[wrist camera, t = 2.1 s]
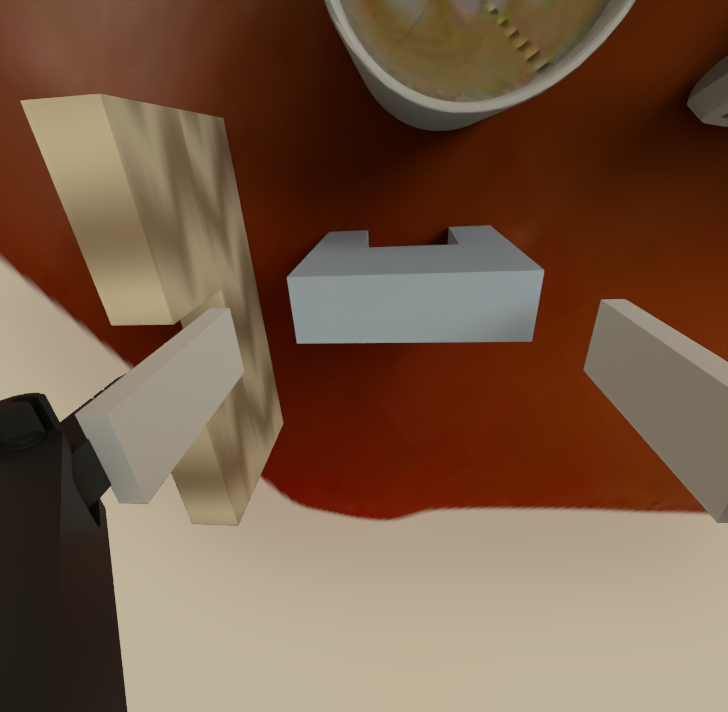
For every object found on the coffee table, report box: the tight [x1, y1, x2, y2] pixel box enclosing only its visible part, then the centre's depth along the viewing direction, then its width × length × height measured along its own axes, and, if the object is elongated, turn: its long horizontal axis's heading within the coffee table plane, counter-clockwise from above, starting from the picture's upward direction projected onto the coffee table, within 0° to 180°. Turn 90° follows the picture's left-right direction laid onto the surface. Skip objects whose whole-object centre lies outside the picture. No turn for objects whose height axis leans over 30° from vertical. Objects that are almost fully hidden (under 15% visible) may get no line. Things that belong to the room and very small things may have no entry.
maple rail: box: [21, 94, 283, 526], centre depth 22 cm, size 22×3×10 cm, turn 3°
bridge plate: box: [287, 225, 544, 344], centre depth 20 cm, size 3×10×10 cm, turn 93°
